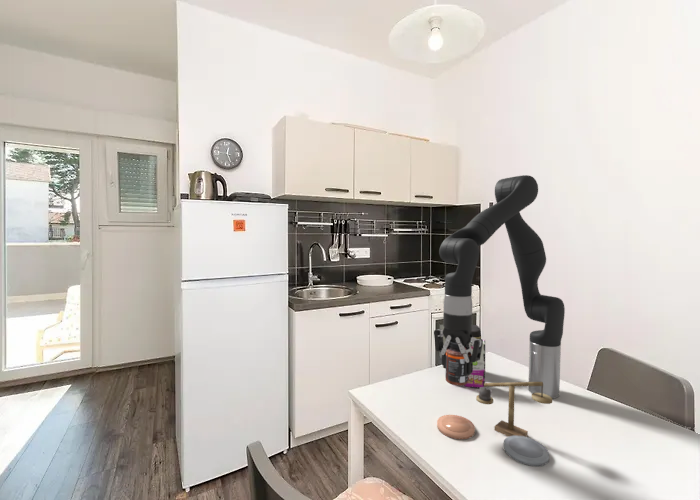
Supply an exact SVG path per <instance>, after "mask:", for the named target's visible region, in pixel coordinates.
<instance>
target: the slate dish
mask: <svg viewBox="0 0 700 500" xmlns="http://www.w3.org/2000/svg"><path fill="white" fill-rule="evenodd" d="M503 450H504V453H505V454H506V455H507V456H509V457H510V459H513V460H514V461H516V462H518V463H521V464H522V465H526V466H530V467H542V466H546V464H548V463H549V462H550V461H549V460H550V451H549V449H548V448H547V447H546V446H545V445H543V444H542V443H541V442H539V441H537V440H536V439H534V438H531V437H528V436H527V437H524V436H509V437H508V436H506V437H505V439H503Z"/></svg>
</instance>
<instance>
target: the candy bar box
mask: <svg viewBox="0 0 700 500" xmlns="http://www.w3.org/2000/svg"><path fill="white" fill-rule="evenodd" d="M482 340H483V345H482V351H481V357H480V360H478V361H476V362H473V372H472V373H471V374H470V375H469V376H468V383H467V384H466V385H463V386H462V387H466V388H471V389H478V390H479V388H480V387H485V386H484V383H486V339H482ZM469 344H470V347H471V349H472V351H471V352H473V346H472V342H470V343H469ZM465 349H466V348H465Z"/></svg>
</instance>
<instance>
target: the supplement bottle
mask: <svg viewBox="0 0 700 500" xmlns="http://www.w3.org/2000/svg"><path fill="white" fill-rule="evenodd" d="M465 350H466V349H465ZM465 362H466V361H465V359H464V356H463V354H461V351H460V349H459V346H458V344H457V343H455V342H450V347H449V348H448V349H447V350H446V369H445V381H446V382H447V383H448V384H449V385H453V386H457V387H464V386H463V385H466V384H467V383H468V376H466V375H464V367H465Z"/></svg>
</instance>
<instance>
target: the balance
mask: <svg viewBox="0 0 700 500" xmlns="http://www.w3.org/2000/svg"><path fill="white" fill-rule="evenodd" d="M484 386H485V387H480V388H479V389H478V394H477V395H476V398H475V399H476V401H477V402H478V403H481V404H483V405H492V404H494V398H493V397H492V390H491V388H492V387H499V388H500V387H501V388H502V387H508V409H507V410H508V412H507V415H508V418H507V419H508V420H507V421H508V422H507V421H505V420H502V419H501V420H499V422H497V423H496V424H495V425H494V427H493V428H494V429H493V430H494V431H495V432H496V433H497V432H498V433H499V434H502V435H504V436H506V437H509V436H524V437H528V435H529V433H528V432H529V431H528V430H526V429H524V428H522V427H519V426H517V425H515V423H514V422H515V397H516V395H515V394H516V392H515V390H516V389H515V387H528V386H542V389H541V393H531V399H532V400H533V401H534V402H537V403H539V404H544V405H546V404H547V405H551V404H552V403H553V399H554V398H552V397H550V396H549V395H546V394H543V382H529V381H513V382H510V381H509V382H508V381H507V382H485V383H484Z"/></svg>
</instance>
